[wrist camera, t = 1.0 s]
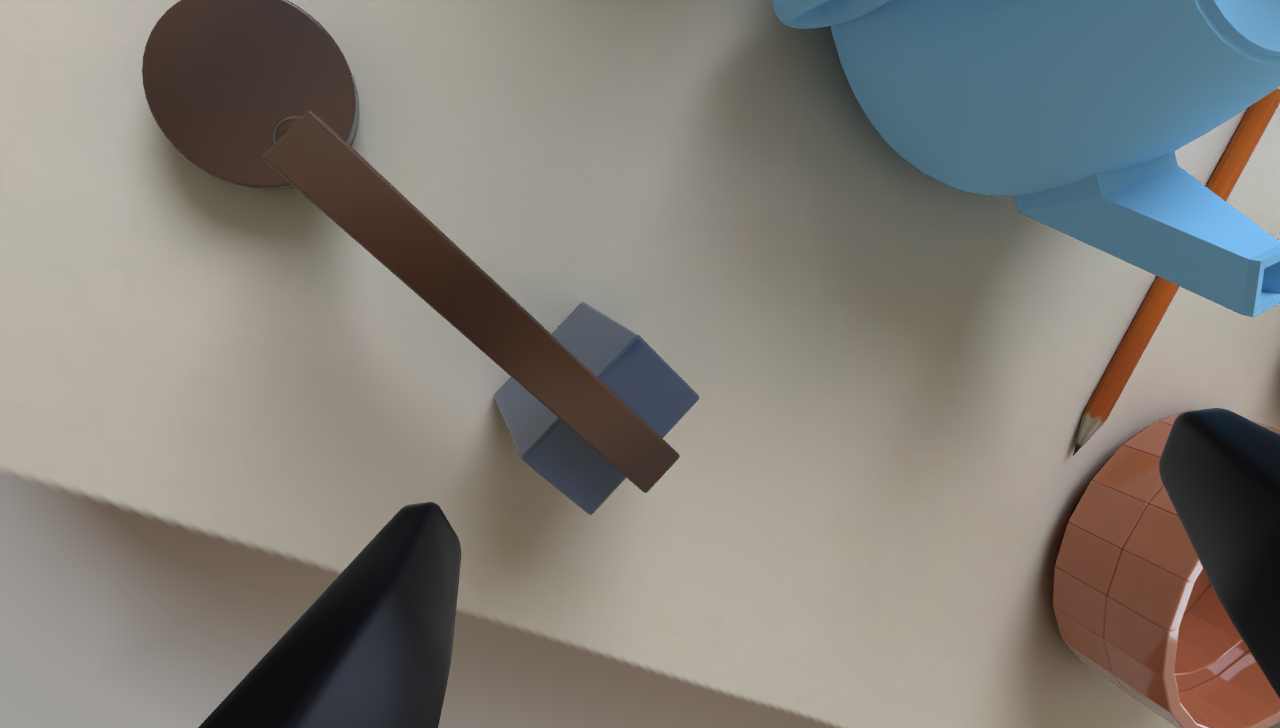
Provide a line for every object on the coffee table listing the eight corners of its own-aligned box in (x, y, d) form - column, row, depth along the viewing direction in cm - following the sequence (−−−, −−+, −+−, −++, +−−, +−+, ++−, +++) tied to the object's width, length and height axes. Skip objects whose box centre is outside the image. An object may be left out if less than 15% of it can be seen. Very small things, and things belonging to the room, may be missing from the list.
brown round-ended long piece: (638, 347, 22) (728, 406, 16) (543, 447, 22) (598, 546, 16) (250, -40, 16) (161, -176, 10) (117, 89, 16) (-54, 27, 10)
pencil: (1286, 56, 28) (1312, 52, 28) (1069, 455, 30) (1088, 462, 29) (1277, 44, 28) (1303, 40, 27) (1057, 449, 30) (1076, 456, 29)
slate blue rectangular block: (548, 442, 22) (591, 516, 17) (492, 395, 21) (520, 459, 16) (633, 351, 22) (701, 398, 17) (582, 300, 21) (638, 334, 16)
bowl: (1112, 704, 35) (1232, 790, 30) (995, 568, 30) (1117, 644, 25) (1274, 513, 36) (1418, 566, 31) (1188, 348, 30) (1344, 379, 25)
